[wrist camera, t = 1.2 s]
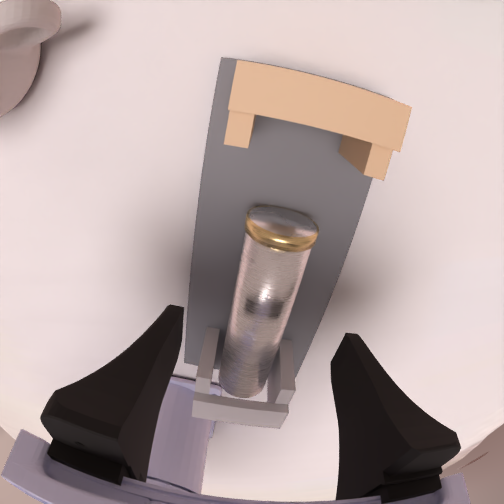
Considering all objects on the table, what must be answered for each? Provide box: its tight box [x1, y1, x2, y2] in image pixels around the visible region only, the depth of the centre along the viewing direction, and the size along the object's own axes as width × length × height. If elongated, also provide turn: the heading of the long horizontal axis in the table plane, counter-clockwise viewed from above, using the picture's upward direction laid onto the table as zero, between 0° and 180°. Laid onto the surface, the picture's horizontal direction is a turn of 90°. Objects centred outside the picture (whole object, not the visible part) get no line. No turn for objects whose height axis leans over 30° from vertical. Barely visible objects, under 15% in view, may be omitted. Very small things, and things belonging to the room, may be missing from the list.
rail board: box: [184, 57, 412, 429], centre depth 15 cm, size 19×8×5 cm, turn 170°
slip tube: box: [218, 206, 319, 398], centre depth 16 cm, size 11×3×3 cm, turn 170°
